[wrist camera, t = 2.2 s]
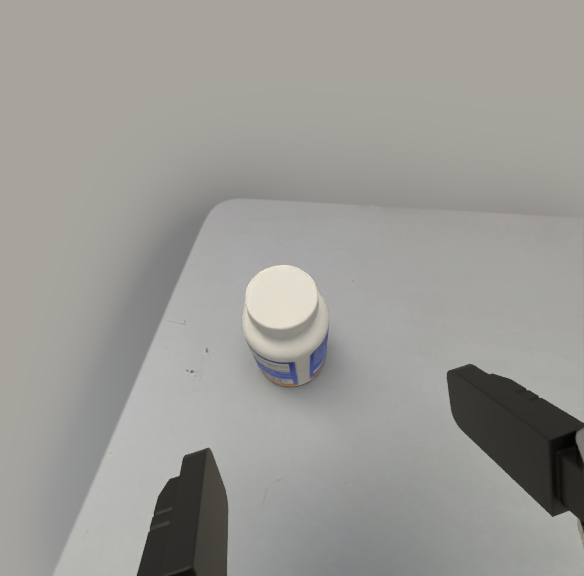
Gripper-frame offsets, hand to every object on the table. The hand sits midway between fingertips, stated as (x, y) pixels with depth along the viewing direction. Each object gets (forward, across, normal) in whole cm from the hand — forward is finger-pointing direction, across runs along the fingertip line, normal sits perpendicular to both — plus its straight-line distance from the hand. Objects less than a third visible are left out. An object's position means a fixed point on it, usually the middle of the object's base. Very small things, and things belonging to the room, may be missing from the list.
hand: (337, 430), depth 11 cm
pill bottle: (+15, 0, +4) cm, 16 cm away
